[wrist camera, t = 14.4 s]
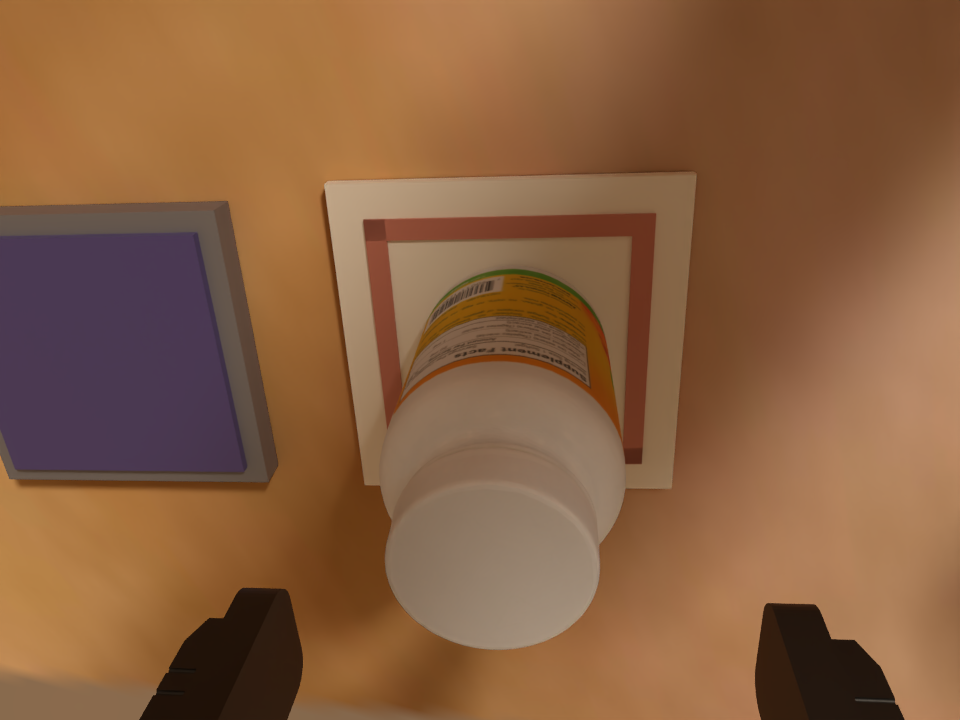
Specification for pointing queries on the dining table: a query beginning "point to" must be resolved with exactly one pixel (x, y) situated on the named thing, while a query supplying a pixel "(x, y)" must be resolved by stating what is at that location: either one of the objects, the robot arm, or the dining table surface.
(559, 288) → the supplement bottle
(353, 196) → the marked card
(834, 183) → the dining table surface
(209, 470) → the ink pad
